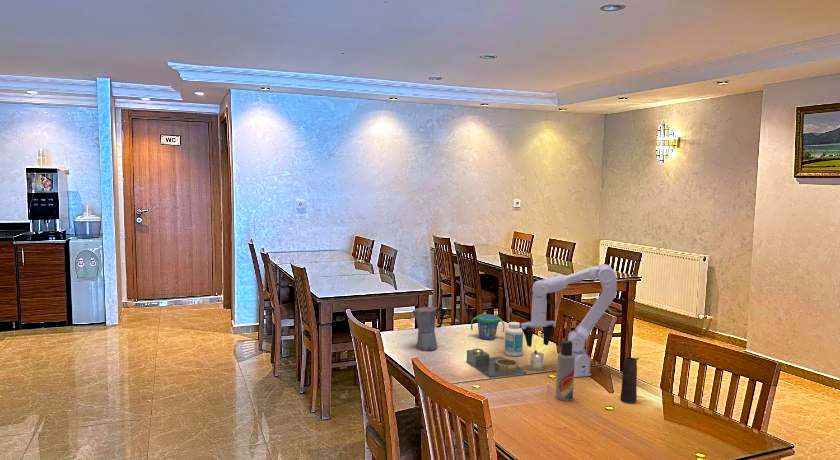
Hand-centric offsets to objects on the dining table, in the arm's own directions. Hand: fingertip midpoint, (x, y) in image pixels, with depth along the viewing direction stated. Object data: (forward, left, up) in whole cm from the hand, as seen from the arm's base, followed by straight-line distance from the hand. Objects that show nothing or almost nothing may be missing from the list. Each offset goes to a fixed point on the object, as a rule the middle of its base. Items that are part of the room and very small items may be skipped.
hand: (537, 345), depth 233 cm
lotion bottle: (-30, +8, -10) cm, 33 cm away
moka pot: (+38, +31, -10) cm, 50 cm away
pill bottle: (+20, -1, -10) cm, 22 cm away
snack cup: (+46, -2, -10) cm, 47 cm away
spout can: (0, 0, -10) cm, 10 cm away
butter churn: (-39, -13, -10) cm, 42 cm away
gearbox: (+6, +15, -9) cm, 19 cm away
